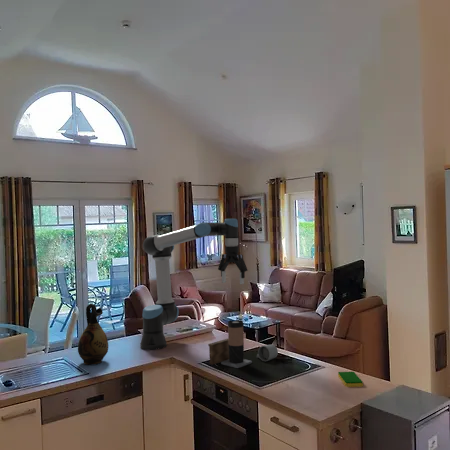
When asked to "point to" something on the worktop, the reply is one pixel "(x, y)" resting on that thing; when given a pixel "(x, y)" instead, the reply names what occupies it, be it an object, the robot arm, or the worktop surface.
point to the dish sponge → (350, 379)
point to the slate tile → (236, 363)
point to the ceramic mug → (267, 352)
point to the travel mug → (236, 341)
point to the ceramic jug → (93, 338)
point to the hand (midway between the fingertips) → (232, 283)
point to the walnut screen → (219, 351)
